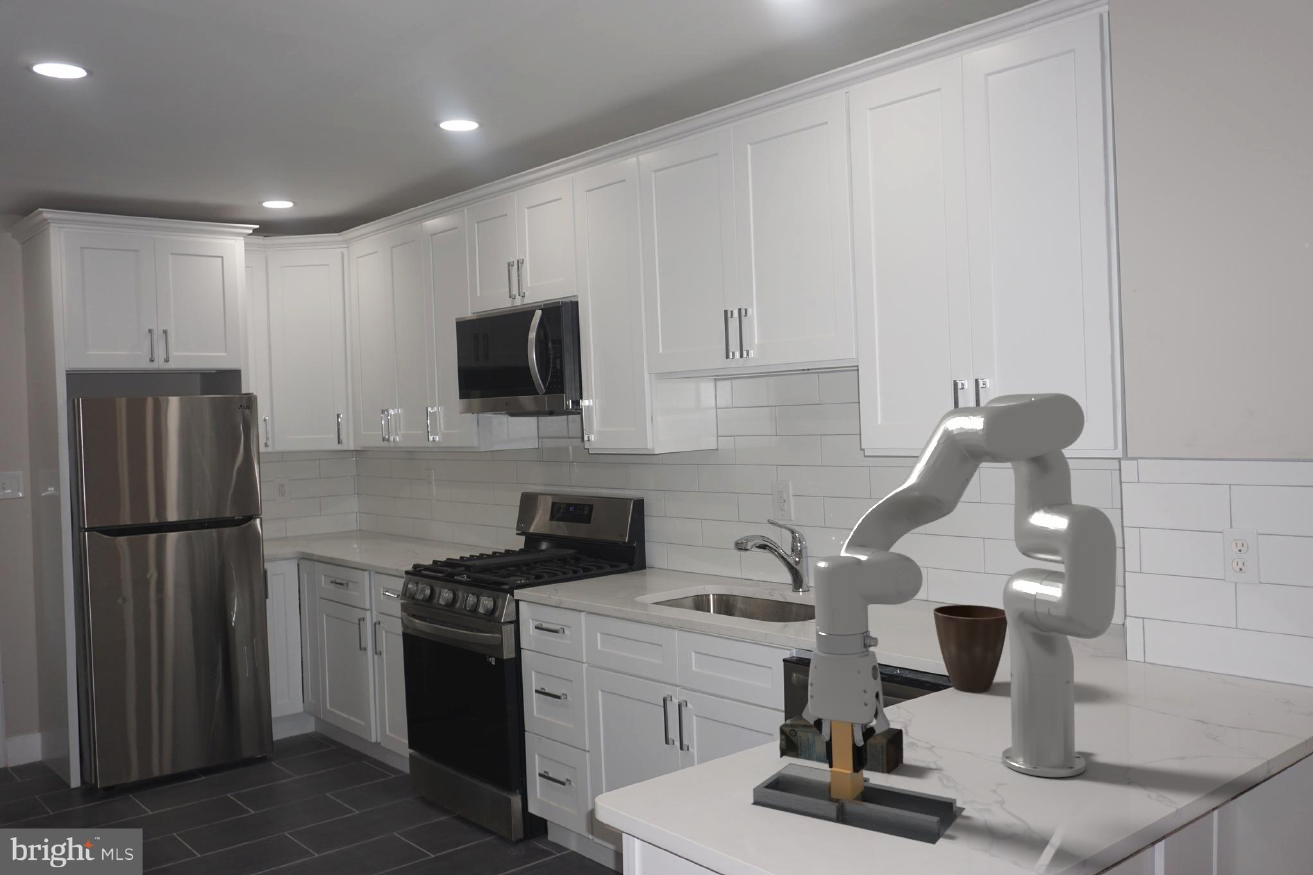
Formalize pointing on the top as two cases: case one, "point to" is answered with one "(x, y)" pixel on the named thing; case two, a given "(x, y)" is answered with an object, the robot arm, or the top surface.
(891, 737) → the beverage carton
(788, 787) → the chip
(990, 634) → the plant pot
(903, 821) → the slot board
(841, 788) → the tan stepped beam
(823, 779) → the grey cube
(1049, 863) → the top surface
